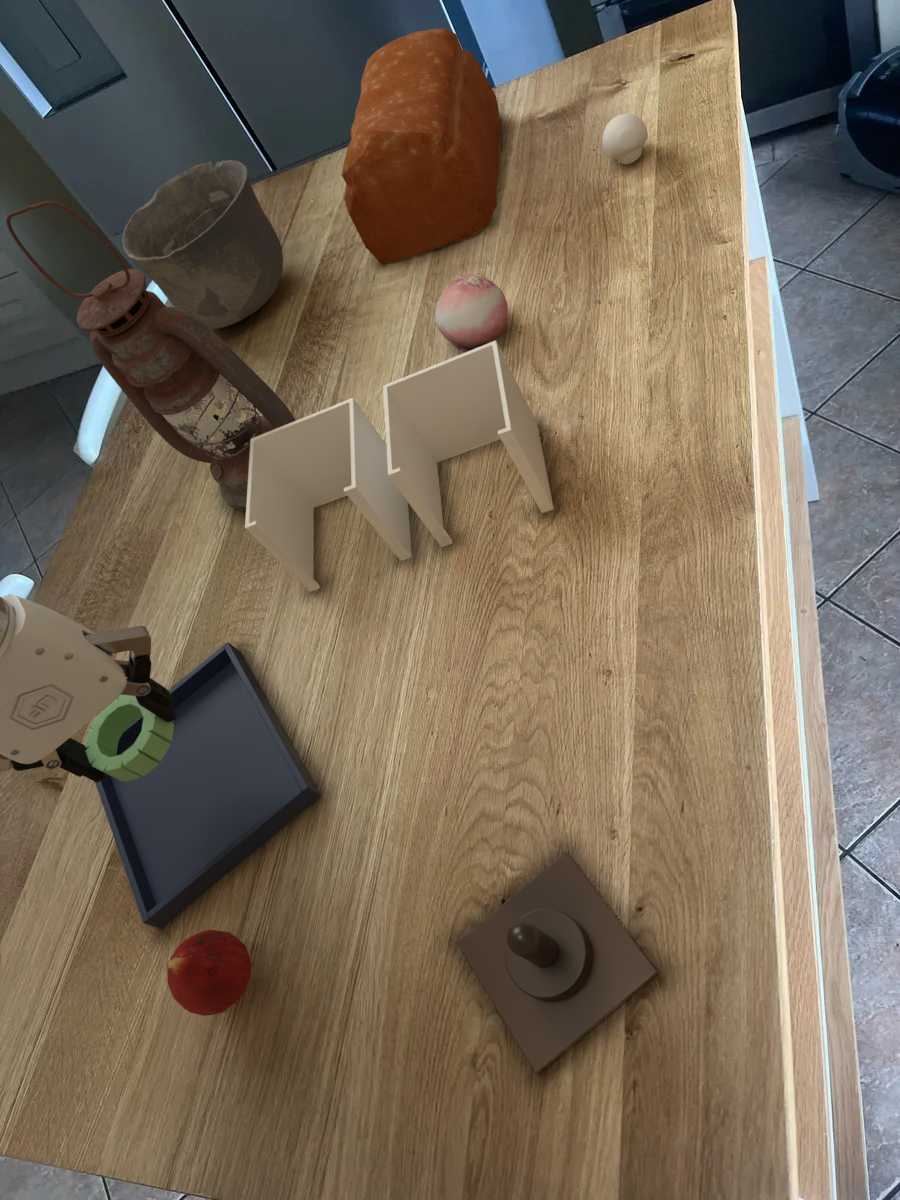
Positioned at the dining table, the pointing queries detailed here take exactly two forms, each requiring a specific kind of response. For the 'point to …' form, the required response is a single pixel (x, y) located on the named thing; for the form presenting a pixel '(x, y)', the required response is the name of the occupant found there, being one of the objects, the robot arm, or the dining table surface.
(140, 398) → the lantern
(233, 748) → the tray
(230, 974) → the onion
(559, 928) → the stand
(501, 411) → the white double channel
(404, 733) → the dining table surface
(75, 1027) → the dining table surface
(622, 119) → the mushroom
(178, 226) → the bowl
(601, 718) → the dining table surface
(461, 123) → the bread
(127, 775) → the ring
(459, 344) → the onion
